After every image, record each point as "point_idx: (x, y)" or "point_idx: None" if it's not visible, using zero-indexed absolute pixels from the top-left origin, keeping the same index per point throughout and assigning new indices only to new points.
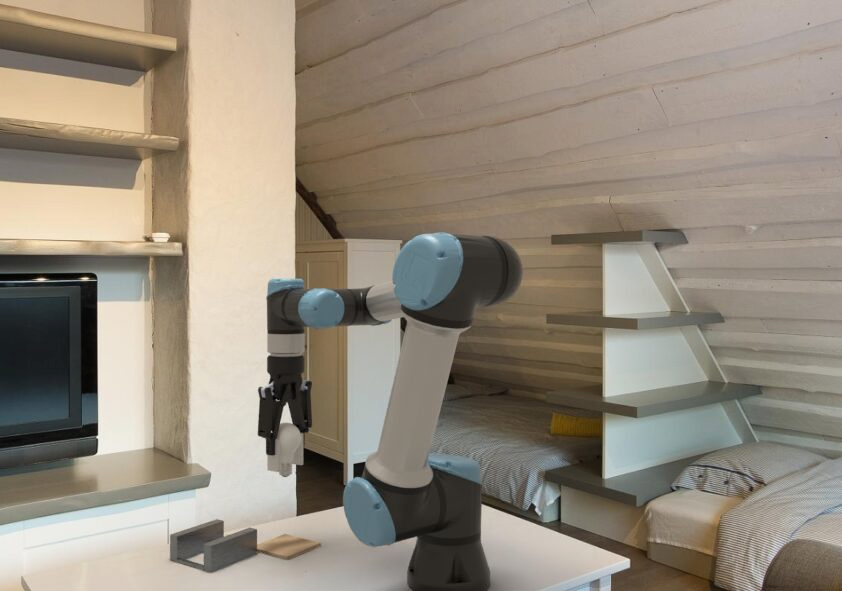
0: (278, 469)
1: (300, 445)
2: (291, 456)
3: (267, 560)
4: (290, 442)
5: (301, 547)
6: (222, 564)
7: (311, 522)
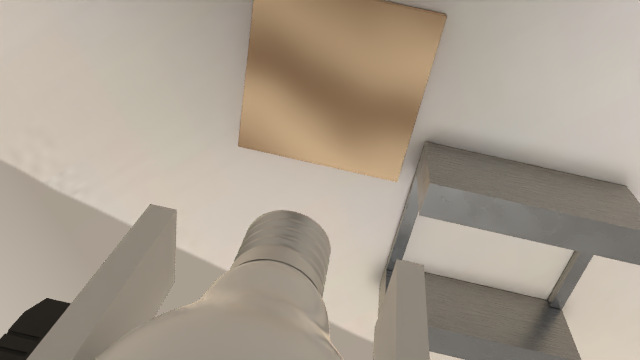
0: (415, 273)
1: (103, 320)
2: (272, 286)
3: (470, 80)
4: None
5: (333, 21)
6: (581, 181)
7: (77, 131)
